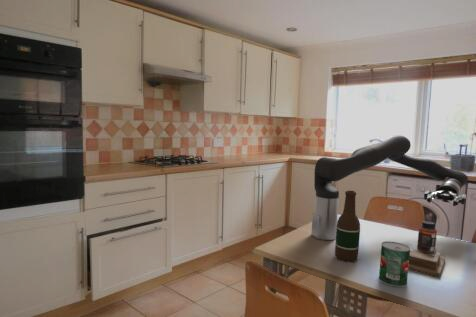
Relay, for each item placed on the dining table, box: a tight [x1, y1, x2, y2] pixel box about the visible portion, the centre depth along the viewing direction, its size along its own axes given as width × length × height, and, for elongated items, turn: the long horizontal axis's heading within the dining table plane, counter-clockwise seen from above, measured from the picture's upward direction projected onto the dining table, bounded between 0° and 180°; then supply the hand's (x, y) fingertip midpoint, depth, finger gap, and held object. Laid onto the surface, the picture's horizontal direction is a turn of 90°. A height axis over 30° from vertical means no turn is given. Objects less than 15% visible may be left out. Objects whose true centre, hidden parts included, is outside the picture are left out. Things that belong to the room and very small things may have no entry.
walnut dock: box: [408, 249, 446, 279], centre depth 114 cm, size 16×14×4 cm
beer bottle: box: [334, 190, 361, 263], centre depth 116 cm, size 8×8×24 cm
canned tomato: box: [378, 241, 411, 288], centre depth 100 cm, size 8×8×11 cm
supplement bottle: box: [416, 220, 438, 255], centre depth 126 cm, size 6×6×11 cm
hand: (441, 201), depth 130 cm, fingers open, 8 cm apart
